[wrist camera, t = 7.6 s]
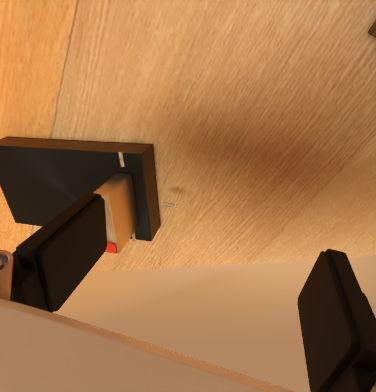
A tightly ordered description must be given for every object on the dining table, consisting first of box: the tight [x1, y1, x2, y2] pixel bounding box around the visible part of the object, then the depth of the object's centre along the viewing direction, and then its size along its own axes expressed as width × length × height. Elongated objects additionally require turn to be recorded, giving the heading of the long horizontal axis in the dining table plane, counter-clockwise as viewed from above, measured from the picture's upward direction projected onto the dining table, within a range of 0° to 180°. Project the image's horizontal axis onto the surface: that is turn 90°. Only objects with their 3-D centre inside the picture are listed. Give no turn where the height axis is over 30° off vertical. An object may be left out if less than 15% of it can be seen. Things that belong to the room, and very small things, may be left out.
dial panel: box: [0, 137, 177, 241], centre depth 29 cm, size 21×10×3 cm, turn 91°
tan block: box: [93, 173, 139, 253], centre depth 24 cm, size 6×2×5 cm, turn 1°
